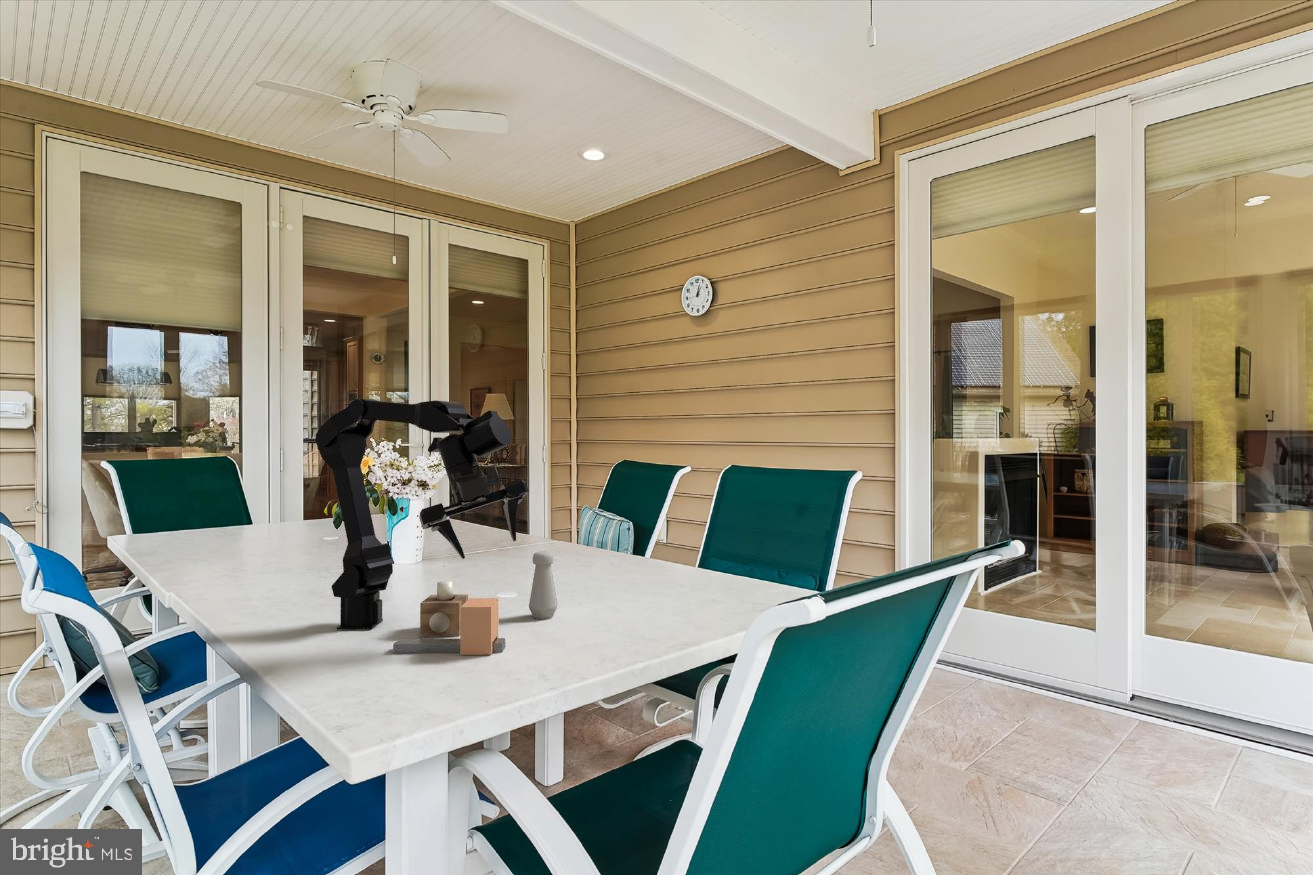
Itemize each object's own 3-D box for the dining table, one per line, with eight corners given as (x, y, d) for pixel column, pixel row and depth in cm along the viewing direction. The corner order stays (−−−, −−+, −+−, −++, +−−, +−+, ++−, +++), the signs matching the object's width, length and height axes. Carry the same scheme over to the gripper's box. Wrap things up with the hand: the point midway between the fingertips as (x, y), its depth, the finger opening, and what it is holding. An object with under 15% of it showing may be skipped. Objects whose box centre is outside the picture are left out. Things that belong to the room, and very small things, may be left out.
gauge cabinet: (419, 636, 125) (419, 603, 125) (431, 625, 133) (431, 594, 133) (458, 636, 126) (459, 603, 126) (468, 625, 133) (468, 594, 133)
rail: (393, 653, 116) (393, 644, 116) (399, 647, 119) (399, 639, 119) (502, 652, 116) (502, 643, 116) (505, 646, 119) (505, 638, 119)
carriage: (460, 654, 114) (460, 607, 114) (469, 643, 121) (469, 598, 121) (491, 654, 114) (491, 606, 114) (498, 642, 121) (498, 597, 121)
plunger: (435, 599, 128) (435, 584, 128) (439, 596, 131) (439, 580, 131) (450, 599, 128) (450, 583, 128) (454, 596, 131) (454, 580, 131)
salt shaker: (560, 613, 142) (561, 550, 143) (554, 620, 137) (554, 554, 137) (532, 612, 143) (533, 549, 143) (524, 619, 137) (525, 554, 137)
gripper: (409, 471, 113) (438, 563, 111) (518, 440, 121) (548, 525, 118) (408, 485, 123) (435, 569, 121) (509, 456, 131) (536, 534, 128)
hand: (489, 549), depth 122 cm, fingers open, 9 cm apart
